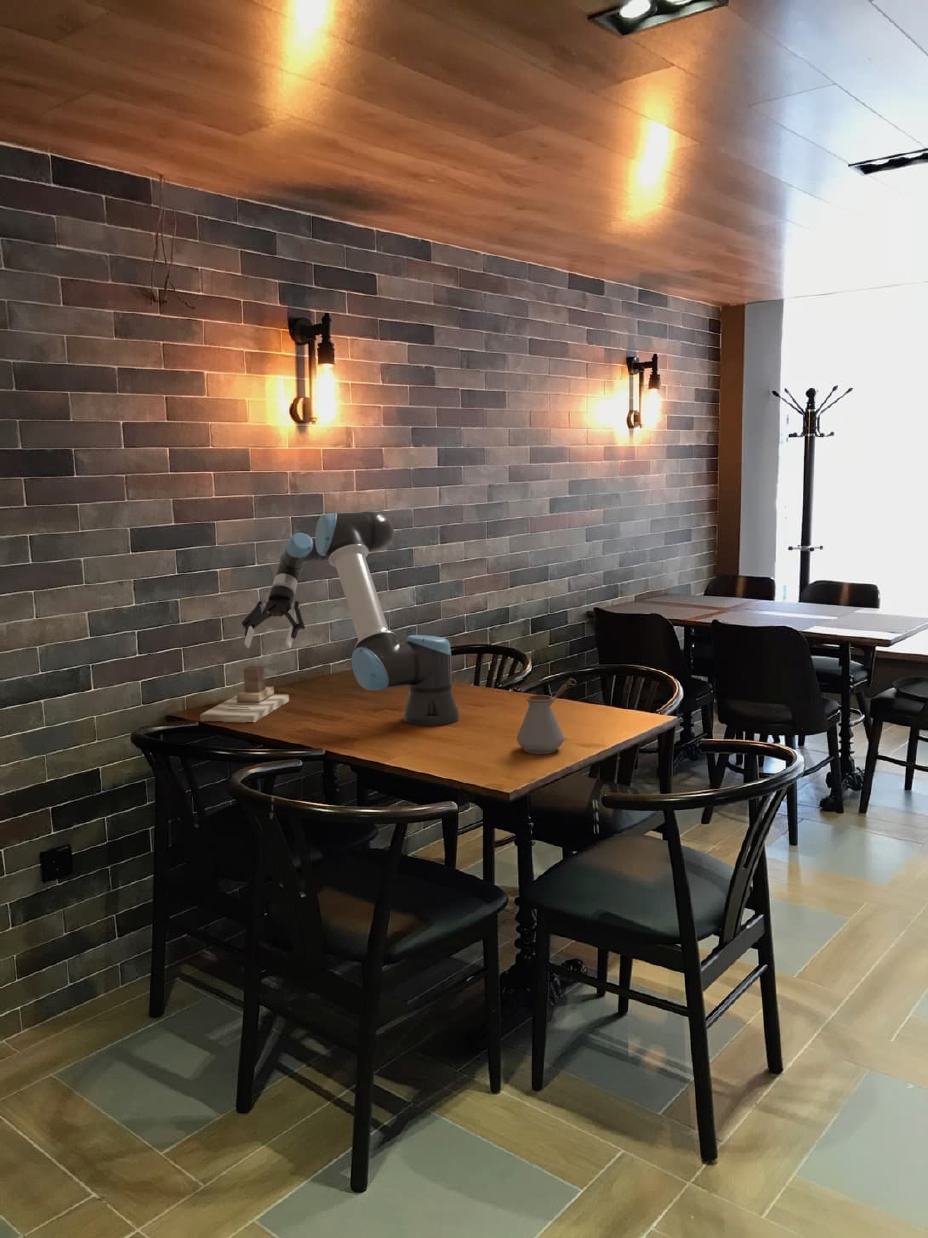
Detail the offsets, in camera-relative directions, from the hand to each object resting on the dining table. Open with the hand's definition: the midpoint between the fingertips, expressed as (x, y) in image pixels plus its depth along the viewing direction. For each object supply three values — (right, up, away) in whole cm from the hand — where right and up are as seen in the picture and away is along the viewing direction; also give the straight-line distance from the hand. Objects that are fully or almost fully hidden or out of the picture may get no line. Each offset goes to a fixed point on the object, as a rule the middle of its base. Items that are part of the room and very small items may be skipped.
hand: (267, 646), depth 301 cm
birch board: (-3, -19, -15) cm, 24 cm away
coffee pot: (+82, -23, -60) cm, 104 cm away
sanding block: (-2, -16, -8) cm, 18 cm away
